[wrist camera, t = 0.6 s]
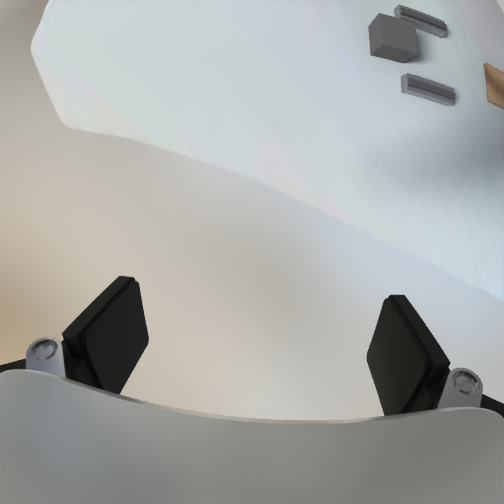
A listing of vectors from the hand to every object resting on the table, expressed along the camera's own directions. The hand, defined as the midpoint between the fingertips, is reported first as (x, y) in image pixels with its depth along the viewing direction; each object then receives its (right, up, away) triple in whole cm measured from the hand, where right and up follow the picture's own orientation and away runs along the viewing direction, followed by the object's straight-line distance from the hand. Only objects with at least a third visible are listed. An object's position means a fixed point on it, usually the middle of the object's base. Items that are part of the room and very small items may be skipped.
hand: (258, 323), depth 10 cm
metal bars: (+24, +31, +16) cm, 42 cm away
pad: (+41, +30, +15) cm, 53 cm away
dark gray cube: (+18, +31, +17) cm, 40 cm away
